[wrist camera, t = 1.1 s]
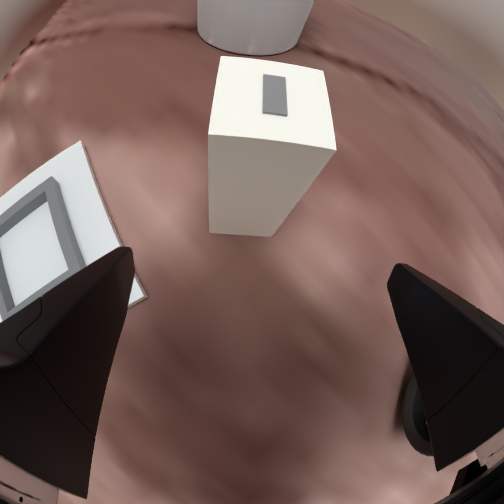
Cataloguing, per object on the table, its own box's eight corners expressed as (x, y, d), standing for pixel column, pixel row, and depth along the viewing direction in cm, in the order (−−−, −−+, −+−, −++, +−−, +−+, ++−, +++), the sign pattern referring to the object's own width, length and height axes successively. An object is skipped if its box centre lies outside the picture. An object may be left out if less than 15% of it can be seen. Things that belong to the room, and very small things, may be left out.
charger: (271, 237, 23) (337, 148, 10) (209, 232, 22) (208, 131, 10) (272, 181, 24) (324, 69, 11) (214, 176, 23) (221, 53, 11)
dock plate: (147, 297, 21) (138, 294, 18) (16, 373, 17) (0, 377, 14) (84, 146, 22) (75, 131, 20) (-24, 228, 19) (-38, 221, 16)
